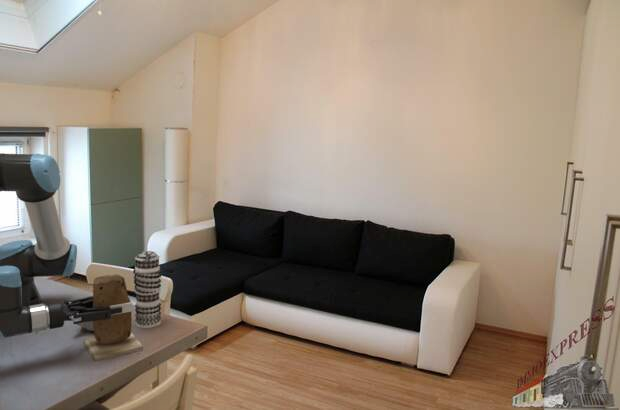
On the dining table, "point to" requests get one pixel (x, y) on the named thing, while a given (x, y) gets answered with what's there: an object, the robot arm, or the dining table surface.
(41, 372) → the dining table surface
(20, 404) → the dining table surface
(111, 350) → the beige packet
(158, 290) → the decorative candle
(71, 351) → the dining table surface
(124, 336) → the block
